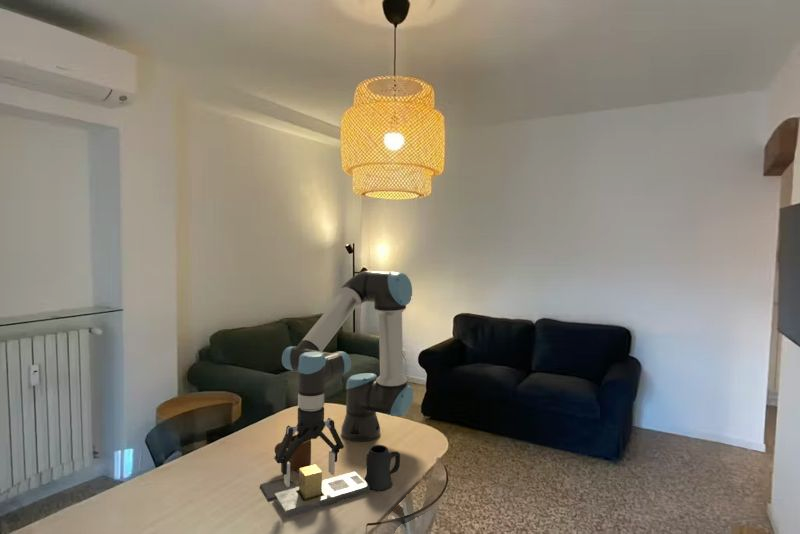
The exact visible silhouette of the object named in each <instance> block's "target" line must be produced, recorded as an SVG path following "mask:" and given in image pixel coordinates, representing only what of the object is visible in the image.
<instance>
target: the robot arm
mask: <svg viewBox="0 0 800 534" xmlns="http://www.w3.org/2000/svg"><path fill="white" fill-rule="evenodd" d="M337 293H338V294H337V297H336V298H335V299H334V300H333V302H331V304H330V305H329V307H327V309H326V310H325V312H323V314H322V315H321V316H320V318H319V319H318V320H317V322H316V323H314V325H313V326H312V327H311V328H310V330H309V331H308V332H307V333H306V335H305V336H304V337H303V338H302V340H301V341H300V342H299V343H298V344H297V346H296V345H294V346H292V345H291V346H288V347H285V349H284V350H283V352H282V355H281V364H282V366H283V368H285V369H286V370H290V371H292V372H295V373H296V372H297V373H298V374H297V375H298V382H297V384H298V385H297V386H298V387H297V388H298V389H297V406H298V408H297V424H296V426H291V425H287V426H286V430H285V434H284V437H283V439H282V440H281V442H282V443H281V442H280V443H281V445H280V447H279V449H278V451H277V453H276V454H275V456H274V458H273V459H274V460H275V462H276V463H277V464H280V472H281V473H282V475H283V478H284V483H285V485H286V486H287V487H289V486H290V479H291V469H290V463H289V462H288V461H289V460H290V458H291V457H292V456H293V454H294V453H295V451H296V450H297V449H298V447H299V446H300V444H302V443H303V442H304V440H310V439H311V440H316V439H317V438H319V437H320V439H322V440H323V441H324V443H325V444H327V446H328V447H329V448H331V449H329V450H328V471H327V472H328V473H329V474H330V475H331V476H334V475H335V472H336V471H335V464H336V463H338V454H339V453H340V450H343V449H344V448H345V445H344V443H343V441H342V440H341V437H340V436H339V433H338V432H337V429H336V427H335V421H334V419H332V418H331V417H328V418H327V419H326V420H325V407H324V406H325V387H326V386H325V384H326V383H328V382H330V381H333V380H335V379H338V378H341V377H343V376H344V375H346V374H348V373H349V371H350V370H351V368H352V359H351V357H350V355H349V354H348V353H347V352H346V351H344V350H343V351H341V350H339V351H334V352H327V351H324V349H326V347H327V346H328V344H329V343H330V342H331V340H332V339H334V338H333V337H334V336H335V335H336V334H337V332H338V331H339V330H340V328H341V327H342V326H343V324H344V323H346V321H347V319H348V318H349V316H350V315H351V314H352V313H353V312H354V310H355V309H358V308H360V307H361V305H362V304H363V303H366V302H371V303H373V305H374V310H375V311H376V312H377V313H378V334H379V335H378V339H379V343H378V346H379V376H378V375H377V374H376V373H372V372H365V373H364V372H363V373H358V374H357V373H356V374H353V375H350V376H349V377H348V378H347V380H346V386H345V392H346V393H345V395H346V404H345V405H346V407H345V409H346V410H345V412H346V413H345V417H344V419H343V422H342V425H341V431H340V433H341V436H342V437H343V438H344V439H347V440H348V441H354V442H367V441H371V440H372V441H373V440H375V439H377V438H378V437H379V436H380V435H381V426H380V423H379V419H378V416H377V413H380V414H384V415H386V416H387V415H388V416H391V417H398V418H401V417H404V416H405V415H406V414H407V413H408V412H409V410H410V408H411V407H412V404H413V401H414V400H413V399H414V395H415V394H414V392H415V391H414V389H413V387H412V386H411V385H408V377H406V376H405V375H404V357H403V356H404V354H403V348H404V347H403V346H404V345H403V312H404V311H405V310H406V309H407V305H408V304H410V302H411V301H412V297H413V286H412V282H411V279H410V278H409V276H407V274H405V273H404V272H400V271H393V270H391V271H389V270H373V269H371V270H370V269H369V270H364V271H361V272H359V273H356V274H355V275H353V276H352V277H351V278H350V279H347V281H345V283H344V284H343V285H342V286H341V287H340V288H339V290H338V292H337ZM325 427H327V428H328V430H329V431H330V434H331V437H332V438H333V440H334V442H335V444H334V442H332V441H331V439H329V437H328V436H326V435H325V433H324V432H323V430H324V429H325ZM296 432H297V434H296ZM294 435H296V437H295V439H294V441H293V442H292V443H291V445H290V446H289V444H290V442H291V439H292V436H294ZM300 437H301V438H300ZM288 446H289V448H288Z"/></svg>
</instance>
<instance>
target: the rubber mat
mask: <svg viewBox="0 0 800 534" xmlns="http://www.w3.org/2000/svg"><path fill="white" fill-rule="evenodd" d="M259 486H260V489H261V490H262V491H263V493H264V495H265V497H266V498H267V500H268V501H272V500H275V493H278V492H281V491H285V490H289V489H292V488H296V487H297V486H296V484H295V483H294V482H293V480H292V479H291V478H290V486H289V487H287V486H286V485H285V483H284V477H283V478H279V479H276V480H272V481H269V482H263V483H261V484H260V485H259Z"/></svg>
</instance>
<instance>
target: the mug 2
mask: <svg viewBox="0 0 800 534" xmlns="http://www.w3.org/2000/svg"><path fill="white" fill-rule="evenodd" d="M393 458H394V460H395V461H394V466H393V467H392V468H391V464H392V463H391V462H392V459H393ZM365 462H366V463H365V464H366V466H365V467H366V474H365V476H364V479H363V480H364V481H365V482H367V483H368V484H369V485H370V492H377V493H379V492H386V491H387V490H390V489H391V488H392V487H393V479H392V475H393V474H395V473H397V472H398V470H399V469H400V466H401V454H400V453H399V452H398V451H391V452H390V451H389V450H388V447H387V446H386V445H382V444H375V445H372V446H370V447H369V450H368V451H367V454H366V461H365Z"/></svg>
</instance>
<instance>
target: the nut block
mask: <svg viewBox="0 0 800 534" xmlns="http://www.w3.org/2000/svg"><path fill="white" fill-rule="evenodd" d="M298 472H299V473H298V477H299V478H298V487H299V496H300V497H301V499H302V500H303V501H307V500H311V499H314V498H318V497H321V496H322V480H323V476H322V474H323V472H322V470H321V469H320V468H319V467H318V465H317V464H315V463H314V464H311V465H310V466H307V467H303V468H299V471H298Z"/></svg>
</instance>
